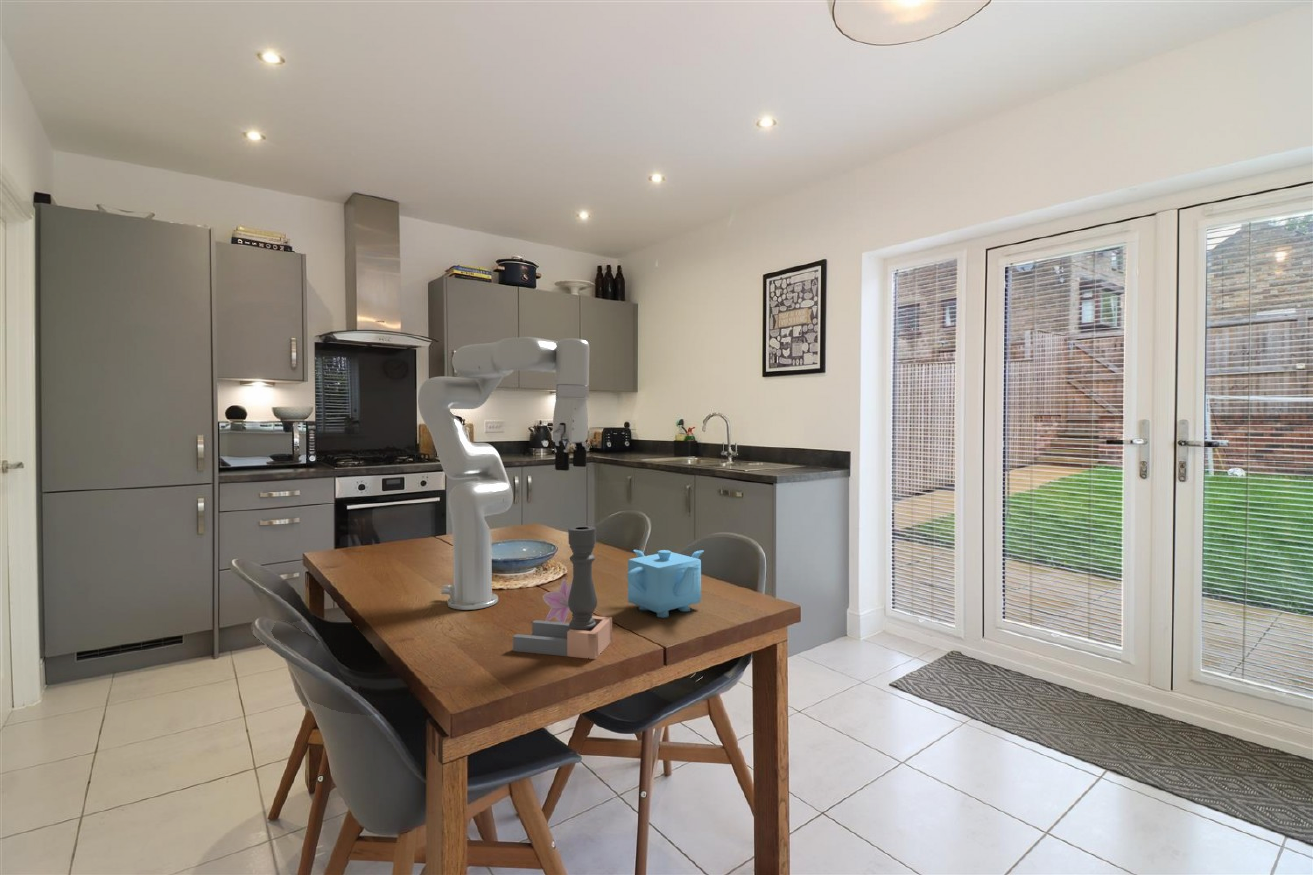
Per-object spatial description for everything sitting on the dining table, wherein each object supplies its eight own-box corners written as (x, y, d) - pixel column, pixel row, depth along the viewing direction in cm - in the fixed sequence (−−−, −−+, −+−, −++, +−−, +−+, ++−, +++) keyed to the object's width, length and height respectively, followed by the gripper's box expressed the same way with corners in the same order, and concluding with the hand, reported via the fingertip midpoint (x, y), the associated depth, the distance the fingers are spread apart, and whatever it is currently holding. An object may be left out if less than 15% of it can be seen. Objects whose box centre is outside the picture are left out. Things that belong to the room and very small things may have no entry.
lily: (542, 617, 151) (529, 588, 146) (585, 594, 154) (574, 565, 150) (557, 647, 141) (544, 617, 136) (603, 622, 144) (591, 592, 140)
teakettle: (623, 620, 145) (623, 558, 145) (633, 596, 164) (633, 542, 164) (703, 622, 144) (703, 560, 143) (703, 598, 162) (703, 543, 162)
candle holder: (568, 641, 131) (568, 525, 131) (597, 640, 132) (597, 525, 131) (567, 652, 125) (566, 531, 124) (597, 651, 126) (596, 530, 125)
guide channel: (513, 650, 126) (512, 626, 126) (535, 633, 136) (535, 611, 136) (595, 659, 122) (595, 634, 122) (612, 640, 132) (612, 617, 132)
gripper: (572, 394, 149) (571, 464, 150) (539, 392, 132) (539, 471, 133) (601, 394, 147) (600, 465, 148) (571, 392, 130) (570, 472, 131)
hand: (571, 468), depth 140 cm, fingers open, 9 cm apart
